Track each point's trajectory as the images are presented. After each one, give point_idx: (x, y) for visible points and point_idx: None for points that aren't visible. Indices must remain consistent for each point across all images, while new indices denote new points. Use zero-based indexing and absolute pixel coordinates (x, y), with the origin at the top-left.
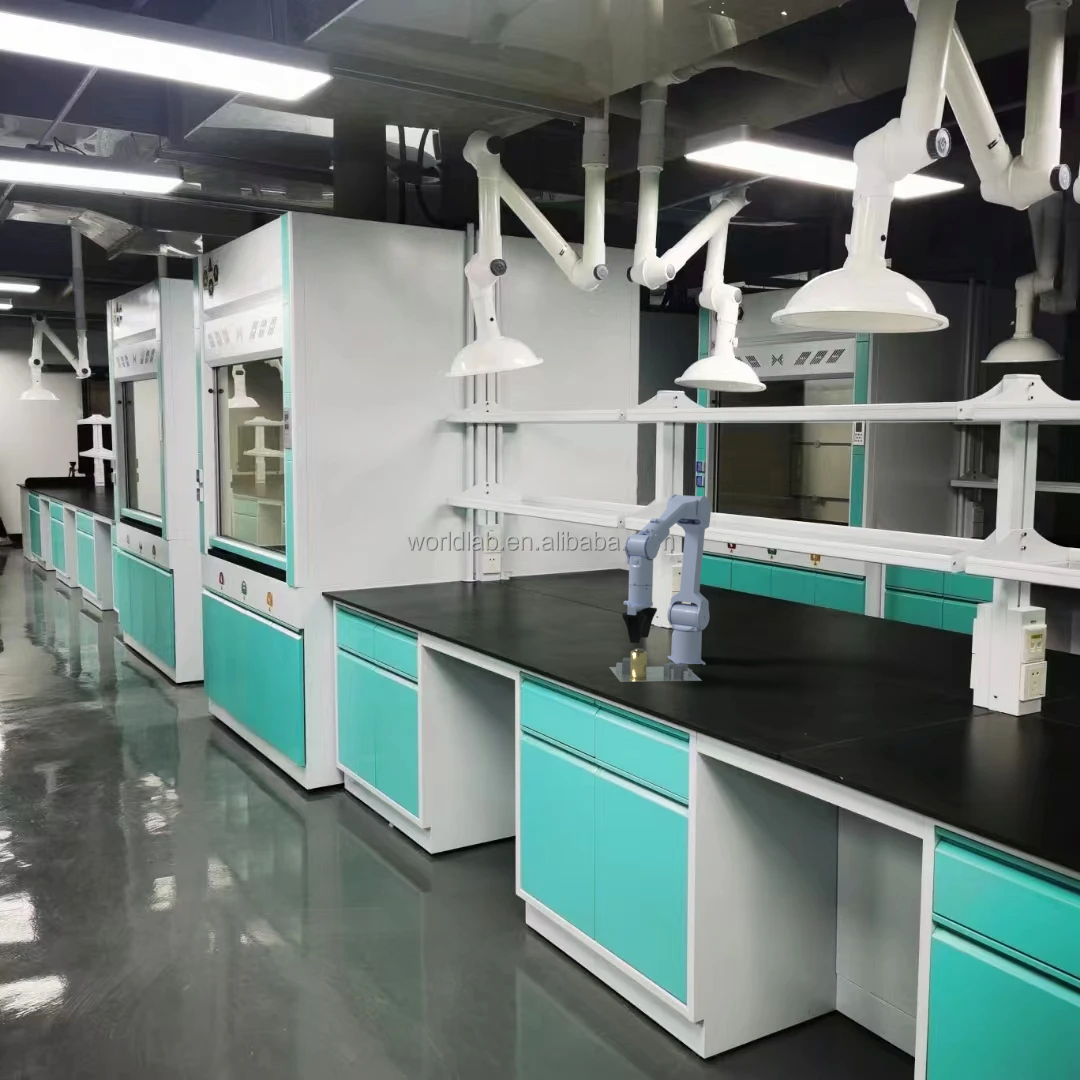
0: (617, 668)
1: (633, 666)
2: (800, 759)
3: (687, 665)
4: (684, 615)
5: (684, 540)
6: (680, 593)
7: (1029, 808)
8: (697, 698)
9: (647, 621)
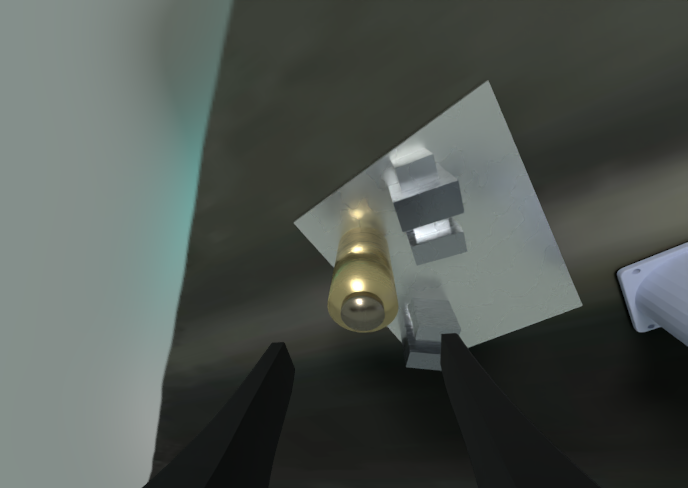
0: (394, 169)
1: (334, 266)
2: (155, 469)
3: None
4: None
5: None
6: None
7: None
8: (294, 376)
9: (479, 475)
